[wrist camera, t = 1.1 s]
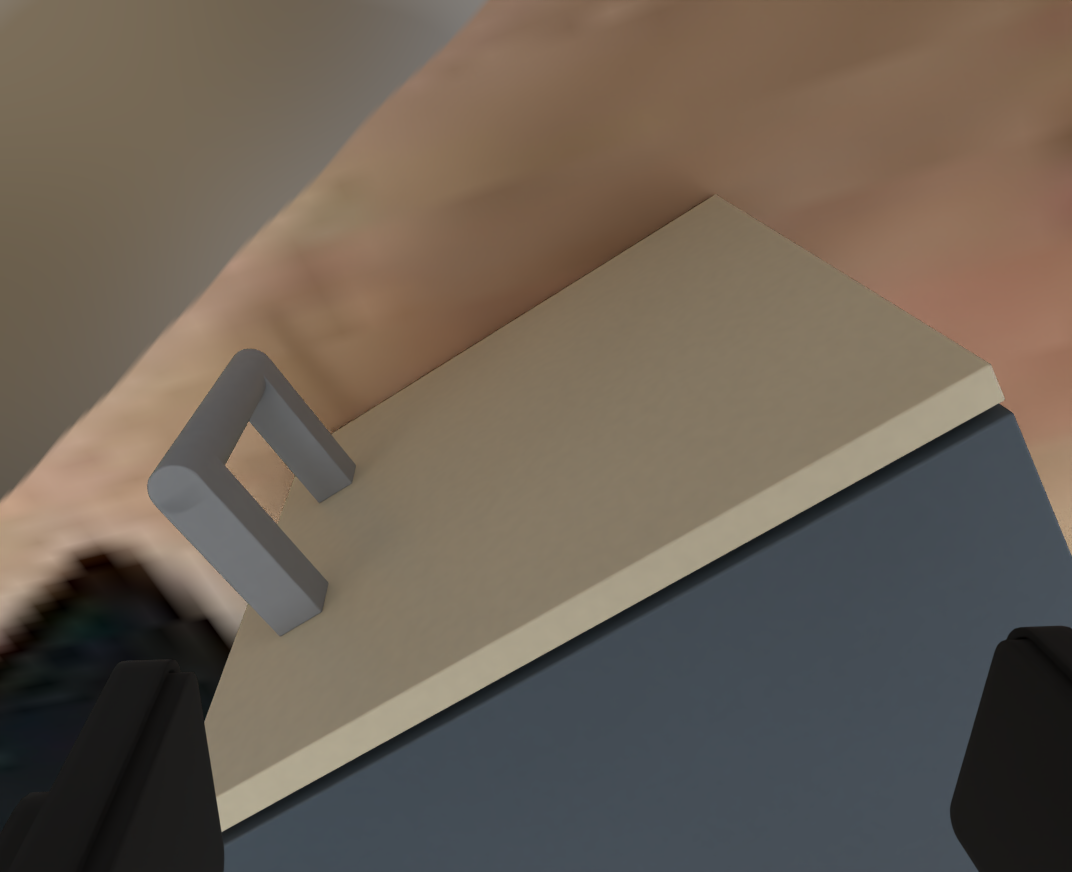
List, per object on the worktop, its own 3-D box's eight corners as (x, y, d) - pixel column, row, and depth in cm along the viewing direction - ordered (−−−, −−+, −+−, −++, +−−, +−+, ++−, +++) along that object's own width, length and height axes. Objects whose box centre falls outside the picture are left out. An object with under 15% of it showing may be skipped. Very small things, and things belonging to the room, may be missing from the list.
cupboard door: (214, 343, 39) (-33, 657, 19) (646, 58, 36) (879, 88, 16) (316, 466, 42) (192, 849, 22) (725, 213, 39) (1006, 400, 19)
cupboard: (320, 469, 42) (197, 860, 22) (727, 217, 39) (1014, 412, 19) (491, 674, 48) (515, 1130, 28) (858, 471, 45) (1182, 825, 25)
